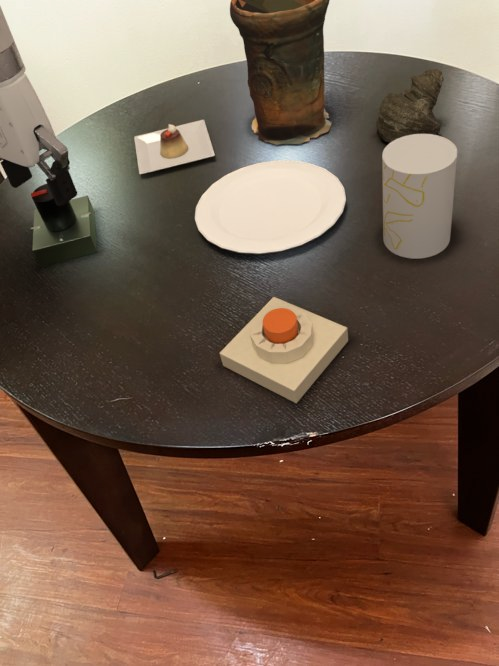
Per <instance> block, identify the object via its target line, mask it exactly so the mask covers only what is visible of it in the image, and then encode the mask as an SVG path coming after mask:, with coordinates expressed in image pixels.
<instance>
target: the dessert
mask: <svg viewBox="0 0 499 666" xmlns="http://www.w3.org/2000/svg"><path fill="white" fill-rule="evenodd" d="M205 121H206V120H205V119H200V120H196V121H192V122H188V123H183V124H179V125H176V126H175V125H174V124H171V123H168V126H167V128H163V129H159V130H156V131H151V132H147V133H143V134H139V135H135V136H134V137H133V139H134V146H135V147H134V148H135V153H136V159H137V161H136V162H137V167H138V174H139V175H145V174H151V173H155V172H160V171H164V170H168V169H171V168H174V167H180V166H184V165H187V164H191V163H195V162H199V161H204V160H207V159H210V158H213V157H214V156H216V154H215V151H214V148H213V144H212V142H211V138H210V134H209V132H208V128H207V125H206V122H205Z"/></svg>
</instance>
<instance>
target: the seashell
mask: <svg viewBox="0 0 499 666" xmlns="http://www.w3.org/2000/svg"><path fill="white" fill-rule="evenodd" d="M410 80H411V85H410V88H409V89H408V90H404V92H401V93H391V92H390V93H387V95H386V96H385V97H384V98H383V99H382V101H381V104H380V106H379V111H378V117H377V119H376V122H375V126H376V128H377V132H378V135H379V137H380V139H382V140H383V141H384V142H386V143H388V144H389V143H391V142H392V141H394V140H396V139H398V138H401V137H404V136H407V135H413V134H432V135H437V134H438V133H439V132H440V131H441V129H442V125H441V124H440V123H439V121H438V120H437V119H436V117H435V114H434V111H433V110H434V108H435V106H436V105H437V101H438V98H439V95H440V93H441V90H442V86H443V82H444V77H443V73H442V71H441V69H438V68H436V69H427V70H425V71H424V72H423V73H422V74H420V75H419V74H417V75H413V76H411V77H410Z"/></svg>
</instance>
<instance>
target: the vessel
mask: <svg viewBox="0 0 499 666" xmlns="http://www.w3.org/2000/svg"><path fill="white" fill-rule="evenodd" d="M329 5H330V0H230V4H229V16H230V19H231V21H232V23H233V24H234V26H235V28H237V30H238V32H239V36H240V37H241V38H242V41H243V48H244V55H245V59H246V66H247V87H248V90H249V97H250V98H251V101H252V103H253V111H254V115H255V117H254V119H253V120H252V121H251V122H252V124H251V130H252V131H253V133H254V134H256V136H258V137H257V139H258V140H261V141H264V143H269V144H272V145H274V146H278V145H283V144H285V145H286V144H287V145H300V144H303V143H306V142H309V141H310V138H318V137H319V136H321V135H323V134H326V133H328V132H329V131H330V129H331V126H332V122H331V121H330V120H328V119H329V118H330V116H329V115H330V113H328V112H327V111H326V108H325V39H324V37H325V36H324V25H325V21H326V15H327V11H328V7H329Z"/></svg>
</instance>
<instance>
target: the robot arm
mask: <svg viewBox="0 0 499 666" xmlns="http://www.w3.org/2000/svg"><path fill="white" fill-rule="evenodd" d="M25 72H26V66H25V63H24V61H23V59H22V56H21V53H20V51H19V49H18V45H17V44H16V41H15V39H14V36H13V34H12V31H11V28H10V26H9V24H8V22H7V19H6V17H5V13H4V12H3V9H2V6H1V5H0V165H1V168H2V170H3V172H4V174H5V176H6V177H7V178H6V179H7V180H8V182H9V184H10V186H11V187H12V188H14V189H17V188H19V187H20V186H22V185H23V184H26V182H28V181H30V180H31V179H32V178H33V174H32V172H31V169H30V168H33V167H34V166H36V165H37V166H38V168H39V169H40V170H41V171H42V172H43V173H44V175H45V176H46V177H47V178H46V179H45V182H46V184H48V187H49V189H50V191H51V193H52V196H53V198H54V200H55V203H56V205H58V206H63V205H64V204H66V203H67V202H68V201H70V200H72V199H75V198H76V197H77V196H78V190H77V187H76V185H75V183H74V180H73V178H72V176H71V173H70V171H69V170H70V169H71V167H70V163H71V162H70V159H69V149H68V147H67V145H65V144H64V143H63V142H61V141H60V140H59V139H58V138H57V137H56V134H55V132H54V131H55V130H54V129H53V127H52V123H51V122H50V119H49V117H48V115H47V113H46V110H45V109H44V106H43V104H42V102H41V100H40V98H39V96H38V94H37V92H36V90H35V89H34V86H33V85H32V83H31V81H30V79H29V78H28V75H27V74H26V73H25ZM42 150H45V151H44V152H42V153H41V154H40V151H42ZM50 157H51V158H52V159H53V161H52V163H51V166H49V164H47V162H46V160H48V159H49V158H50Z"/></svg>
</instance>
